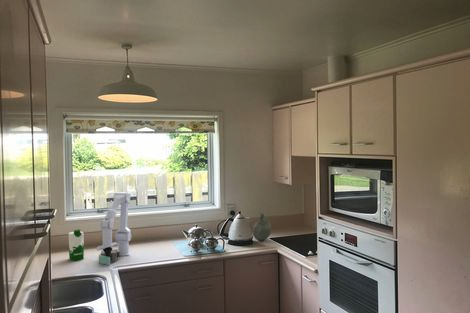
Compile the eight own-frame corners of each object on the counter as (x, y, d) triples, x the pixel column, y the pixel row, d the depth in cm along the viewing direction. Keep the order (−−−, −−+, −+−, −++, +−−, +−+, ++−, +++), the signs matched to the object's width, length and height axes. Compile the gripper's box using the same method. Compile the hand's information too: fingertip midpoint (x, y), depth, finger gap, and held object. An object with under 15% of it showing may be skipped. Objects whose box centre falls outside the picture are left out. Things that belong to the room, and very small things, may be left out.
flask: (249, 239, 304) (249, 212, 303) (269, 238, 309) (269, 211, 308) (254, 243, 293) (254, 215, 292) (274, 241, 297) (274, 214, 297)
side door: (99, 262, 246) (99, 254, 245) (110, 264, 241) (110, 256, 241) (98, 263, 245) (98, 255, 245) (109, 265, 240) (109, 257, 240)
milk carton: (72, 262, 247) (71, 231, 247) (67, 258, 254) (66, 229, 253) (85, 259, 253) (85, 229, 252) (80, 256, 260) (80, 227, 259)
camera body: (102, 258, 254) (102, 250, 254) (120, 257, 256) (120, 249, 256) (100, 262, 246) (100, 253, 246) (118, 261, 248) (118, 252, 248)
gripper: (112, 234, 251) (112, 255, 251) (93, 239, 239) (94, 260, 239) (119, 236, 247) (119, 256, 247) (100, 241, 235) (100, 262, 235)
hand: (107, 258), depth 243 cm, fingers closed, pressing on side door
